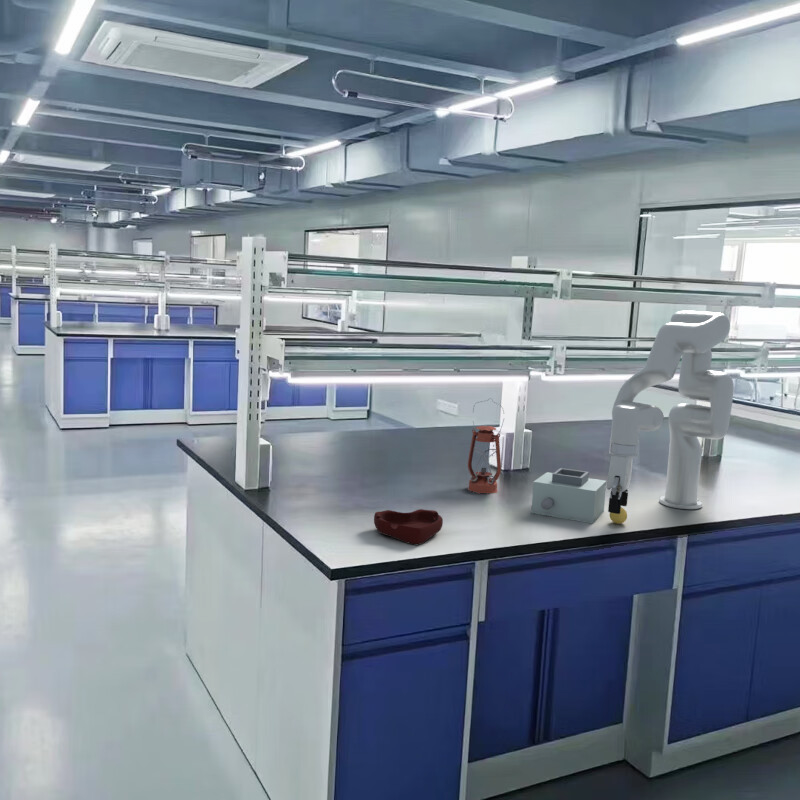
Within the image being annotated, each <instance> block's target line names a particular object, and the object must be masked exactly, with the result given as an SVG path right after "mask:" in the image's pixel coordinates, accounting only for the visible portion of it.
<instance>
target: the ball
mask: <svg viewBox="0 0 800 800" xmlns="http://www.w3.org/2000/svg"><path fill="white" fill-rule="evenodd" d="M609 518H610V520H611V522H612V523H614V524H617V525H622V524H623V523H625V522H626V521H627V519H628V512H627V511H626V509H625V508H624V507H623V506H621V510H620V514H616V513H610V512H609Z"/></svg>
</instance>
